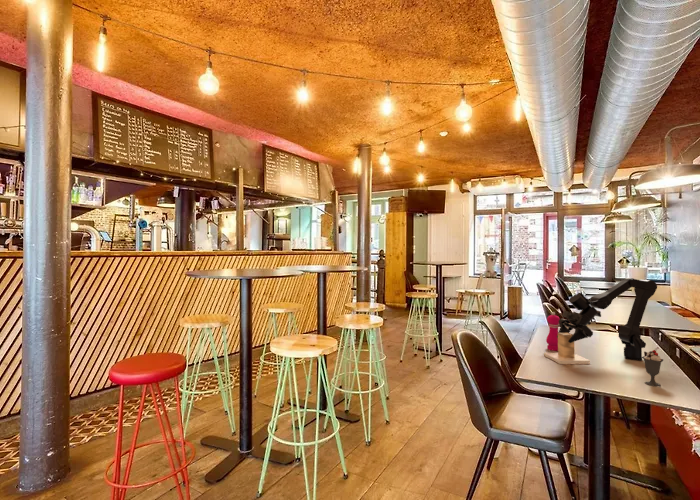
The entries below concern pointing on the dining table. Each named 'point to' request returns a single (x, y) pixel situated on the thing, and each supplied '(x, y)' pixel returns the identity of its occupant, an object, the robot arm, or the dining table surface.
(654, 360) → the sundae
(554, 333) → the pepper mill
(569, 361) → the plate
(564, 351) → the oak block
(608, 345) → the dining table surface
